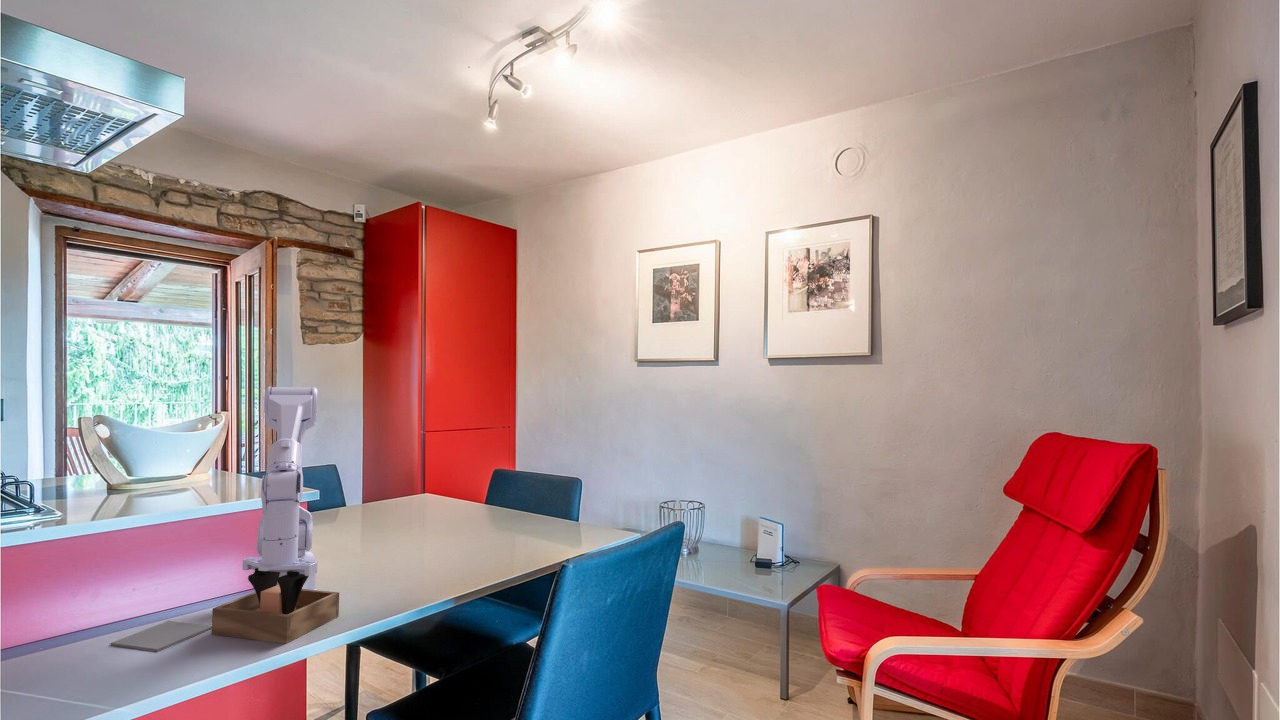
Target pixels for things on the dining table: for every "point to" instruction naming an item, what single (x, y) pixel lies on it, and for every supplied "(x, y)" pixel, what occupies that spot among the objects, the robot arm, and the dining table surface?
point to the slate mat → (162, 636)
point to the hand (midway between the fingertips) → (278, 611)
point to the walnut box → (274, 617)
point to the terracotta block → (271, 600)
